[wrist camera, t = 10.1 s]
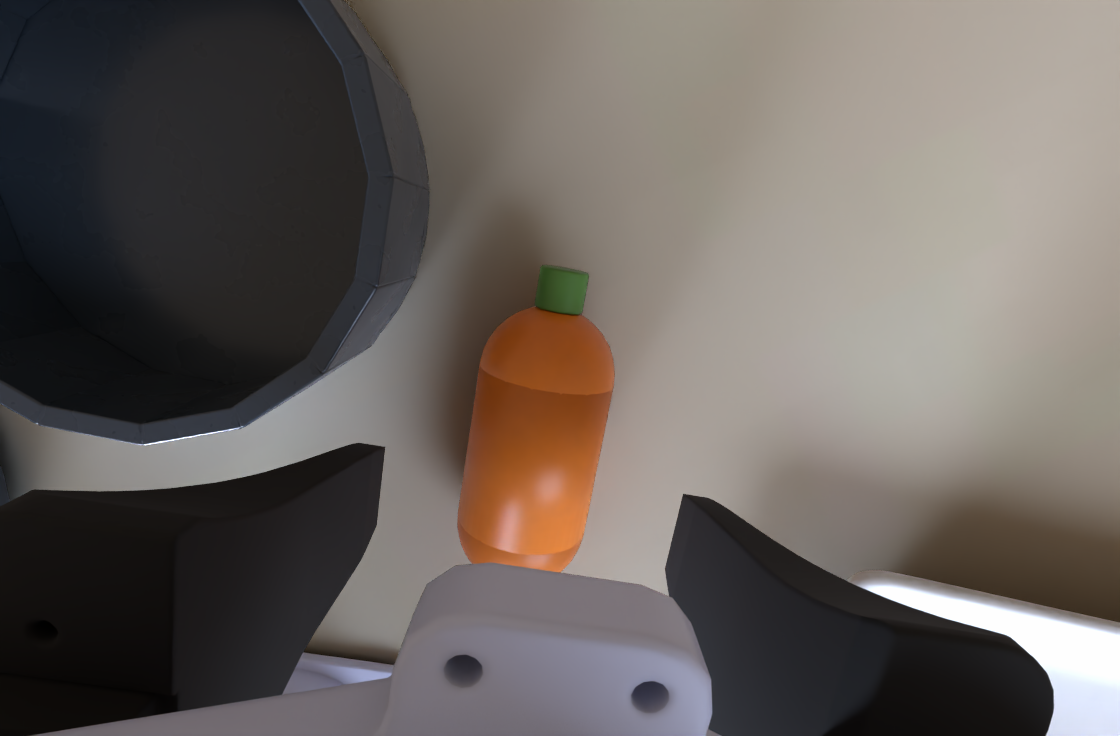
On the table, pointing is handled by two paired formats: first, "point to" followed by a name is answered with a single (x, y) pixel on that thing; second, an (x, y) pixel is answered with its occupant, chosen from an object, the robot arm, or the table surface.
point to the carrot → (536, 430)
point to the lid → (3, 489)
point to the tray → (1031, 644)
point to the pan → (196, 208)
